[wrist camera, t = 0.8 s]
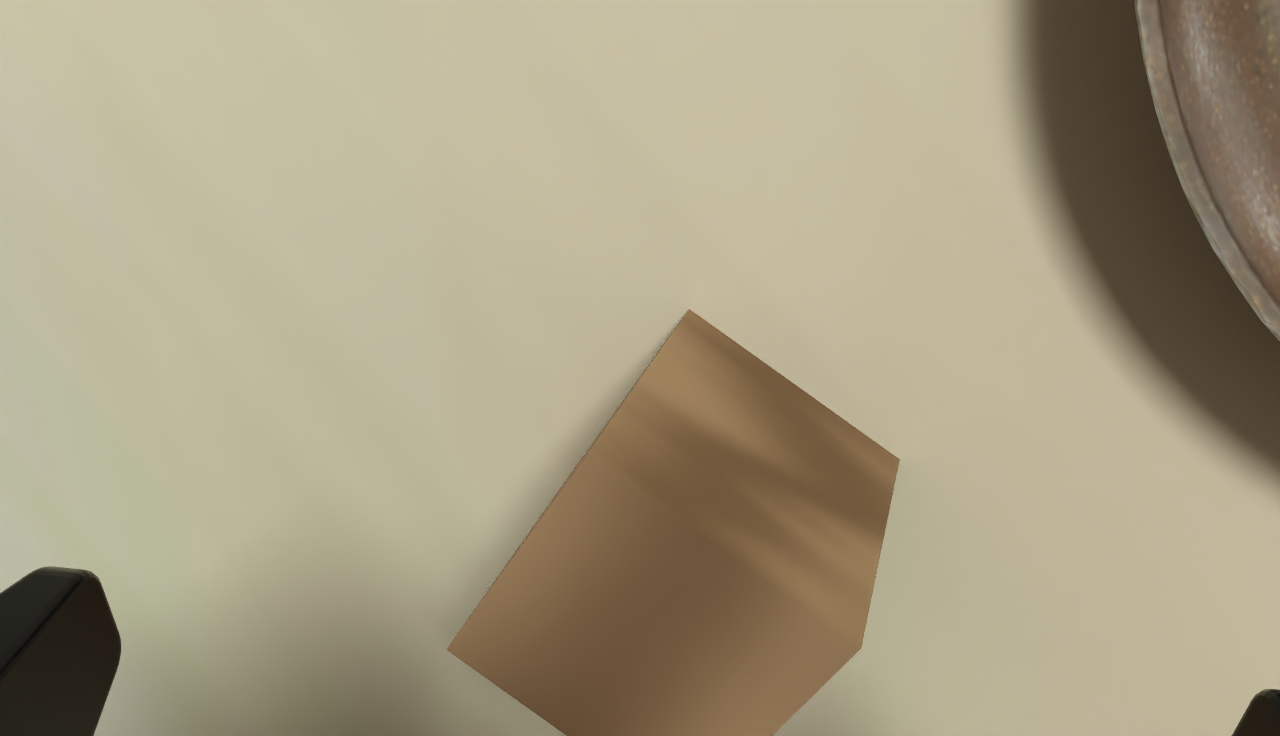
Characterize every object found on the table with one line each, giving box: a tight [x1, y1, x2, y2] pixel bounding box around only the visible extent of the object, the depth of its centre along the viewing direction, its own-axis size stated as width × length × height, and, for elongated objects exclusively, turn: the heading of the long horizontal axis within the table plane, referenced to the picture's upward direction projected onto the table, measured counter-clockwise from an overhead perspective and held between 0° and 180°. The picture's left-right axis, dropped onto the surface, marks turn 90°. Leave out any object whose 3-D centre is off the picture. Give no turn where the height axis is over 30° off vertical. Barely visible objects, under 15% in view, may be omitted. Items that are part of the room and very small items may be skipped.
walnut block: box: [447, 309, 900, 736], centre depth 21 cm, size 5×5×6 cm
